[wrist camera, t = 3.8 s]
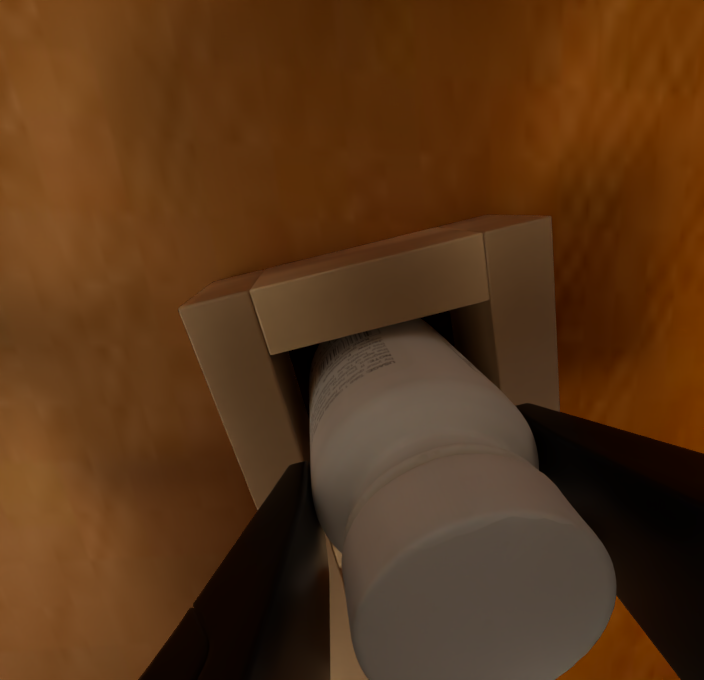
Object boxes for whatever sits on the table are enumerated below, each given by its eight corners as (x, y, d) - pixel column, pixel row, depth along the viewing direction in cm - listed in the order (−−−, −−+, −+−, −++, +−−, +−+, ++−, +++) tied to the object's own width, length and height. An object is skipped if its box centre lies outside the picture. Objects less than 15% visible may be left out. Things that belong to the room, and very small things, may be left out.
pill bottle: (301, 430, 12) (294, 748, 5) (317, 298, 11) (338, 468, 4) (430, 438, 13) (590, 730, 6) (460, 314, 12) (716, 487, 4)
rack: (334, 629, 15) (340, 723, 13) (210, 282, 11) (175, 307, 8) (523, 576, 16) (571, 656, 13) (487, 214, 11) (552, 215, 8)
